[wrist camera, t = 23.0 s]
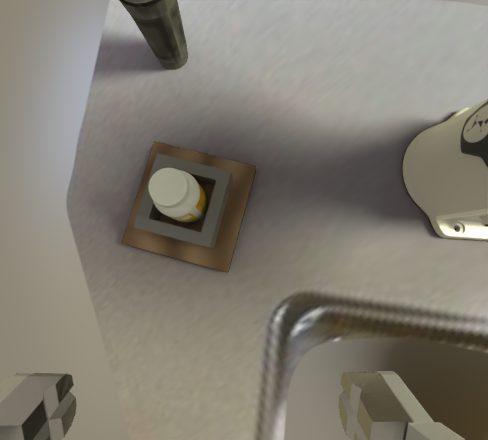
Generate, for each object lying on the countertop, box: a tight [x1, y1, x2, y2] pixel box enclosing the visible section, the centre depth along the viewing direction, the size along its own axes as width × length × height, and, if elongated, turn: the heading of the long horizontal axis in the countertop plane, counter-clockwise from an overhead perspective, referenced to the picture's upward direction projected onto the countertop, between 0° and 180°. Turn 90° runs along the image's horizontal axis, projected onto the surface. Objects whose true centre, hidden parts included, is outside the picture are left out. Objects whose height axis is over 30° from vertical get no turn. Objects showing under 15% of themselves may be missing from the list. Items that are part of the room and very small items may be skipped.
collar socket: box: [122, 141, 256, 272], centre depth 34 cm, size 15×15×5 cm
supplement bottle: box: [148, 168, 208, 224], centre depth 31 cm, size 5×5×10 cm
